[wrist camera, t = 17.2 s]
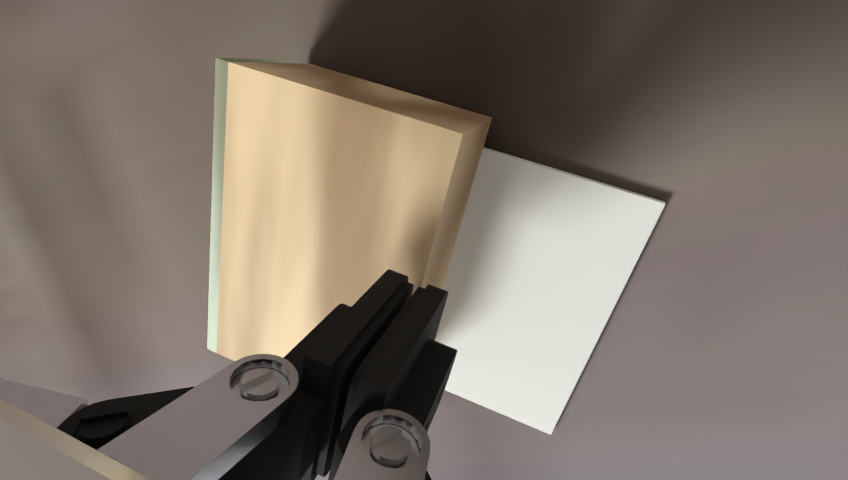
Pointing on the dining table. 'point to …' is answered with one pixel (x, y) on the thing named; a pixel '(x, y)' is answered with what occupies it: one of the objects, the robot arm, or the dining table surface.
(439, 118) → the oak slab
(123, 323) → the dining table surface
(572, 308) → the white rectangular board
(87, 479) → the robot arm
